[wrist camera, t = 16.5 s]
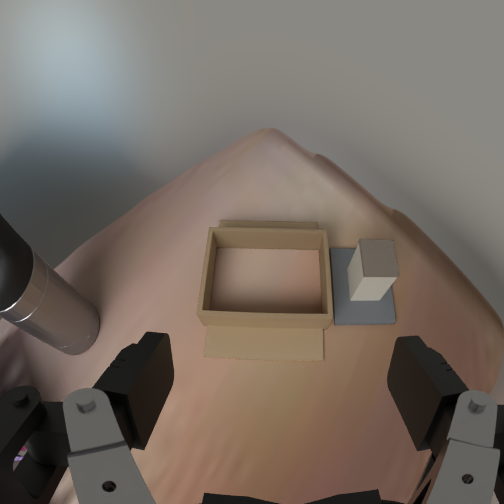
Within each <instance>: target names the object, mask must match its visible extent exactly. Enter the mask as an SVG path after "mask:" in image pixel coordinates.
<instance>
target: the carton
mask: <svg viewBox="0 0 504 504" xmlns="http://www.w3.org/2000/svg"><path fill="white" fill-rule="evenodd" d="M217 248H255V249H297V250H319V261H320V279H321V301H322V314H288V313H251V312H227V311H209V310H210V301H211V292H212V284H213V276H214V268H215V260H216V252H217ZM197 316H198V317H199V319H200V321H201V322H202V324H203V326H207V333H206V342H205V351H204V357H213V358H228V359H247V360H275V361H323V329H327V328H328V326H329V325H330V323H331V321H332V319H333V307H332V289H331V274H330V261H329V248H328V237H327V230H318V227H317V222H281V221H222V220H220V227H209V232H208V239H207V245H206V252H205V259H204V265H203V272H202V279H201V287H200V294H199V301H198V309H197Z"/></svg>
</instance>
